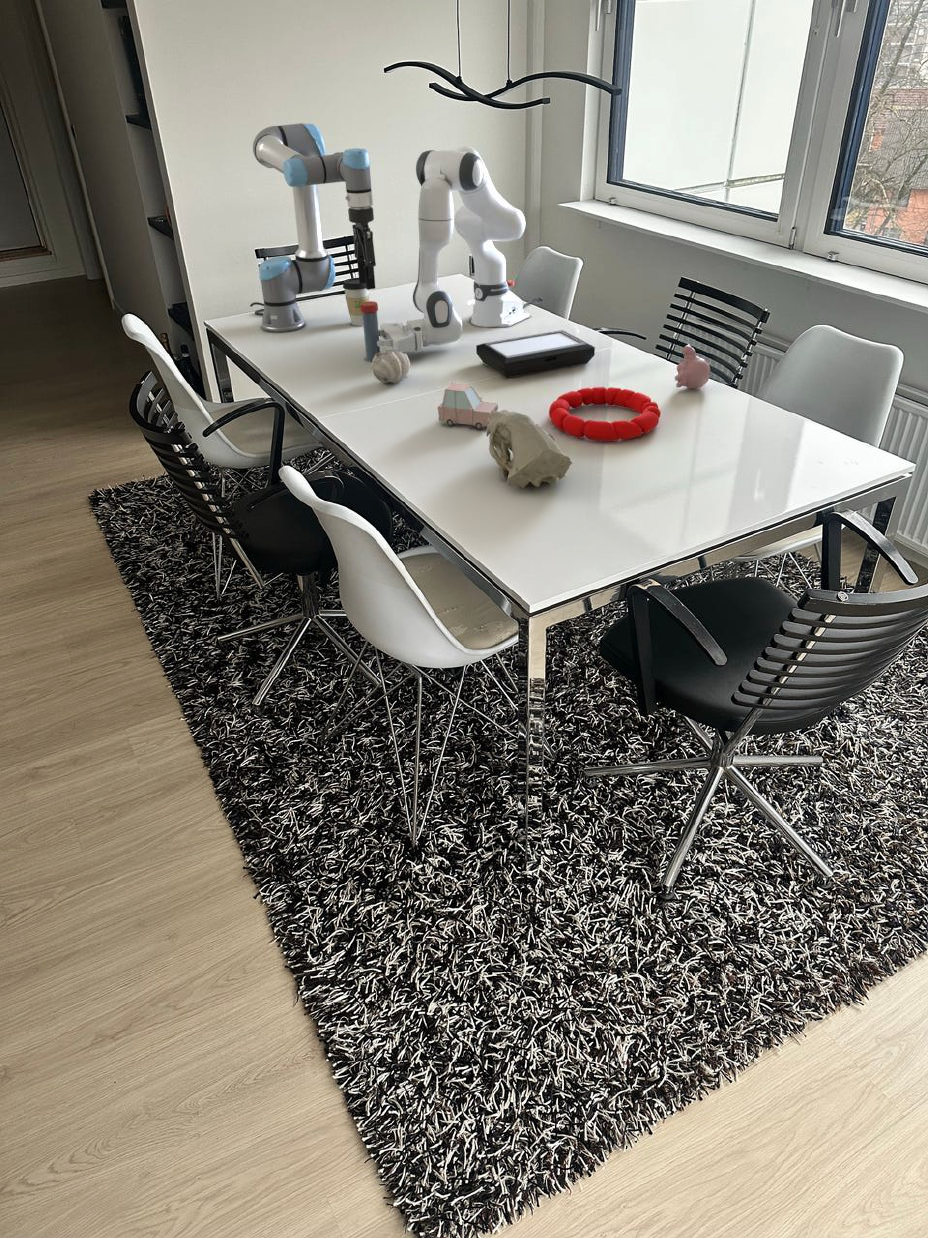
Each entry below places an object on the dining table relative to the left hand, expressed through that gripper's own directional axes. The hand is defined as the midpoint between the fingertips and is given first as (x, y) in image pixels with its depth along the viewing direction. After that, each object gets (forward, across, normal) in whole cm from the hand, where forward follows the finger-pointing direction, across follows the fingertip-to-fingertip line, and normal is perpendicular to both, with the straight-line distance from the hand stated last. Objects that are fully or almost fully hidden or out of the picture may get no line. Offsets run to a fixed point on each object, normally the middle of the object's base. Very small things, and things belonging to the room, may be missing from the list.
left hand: (367, 285), depth 280 cm
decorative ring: (+23, +80, +41) cm, 93 cm away
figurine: (+23, +69, +76) cm, 106 cm away
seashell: (+23, +24, -1) cm, 34 cm away
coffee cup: (+23, -41, +7) cm, 47 cm away
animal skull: (+23, +98, +8) cm, 101 cm away
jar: (+23, 0, 0) cm, 23 cm away
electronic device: (+23, +28, +45) cm, 58 cm away
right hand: (+17, 0, 0) cm, 17 cm away
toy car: (+23, +65, +8) cm, 69 cm away
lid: (+6, 0, 0) cm, 6 cm away
